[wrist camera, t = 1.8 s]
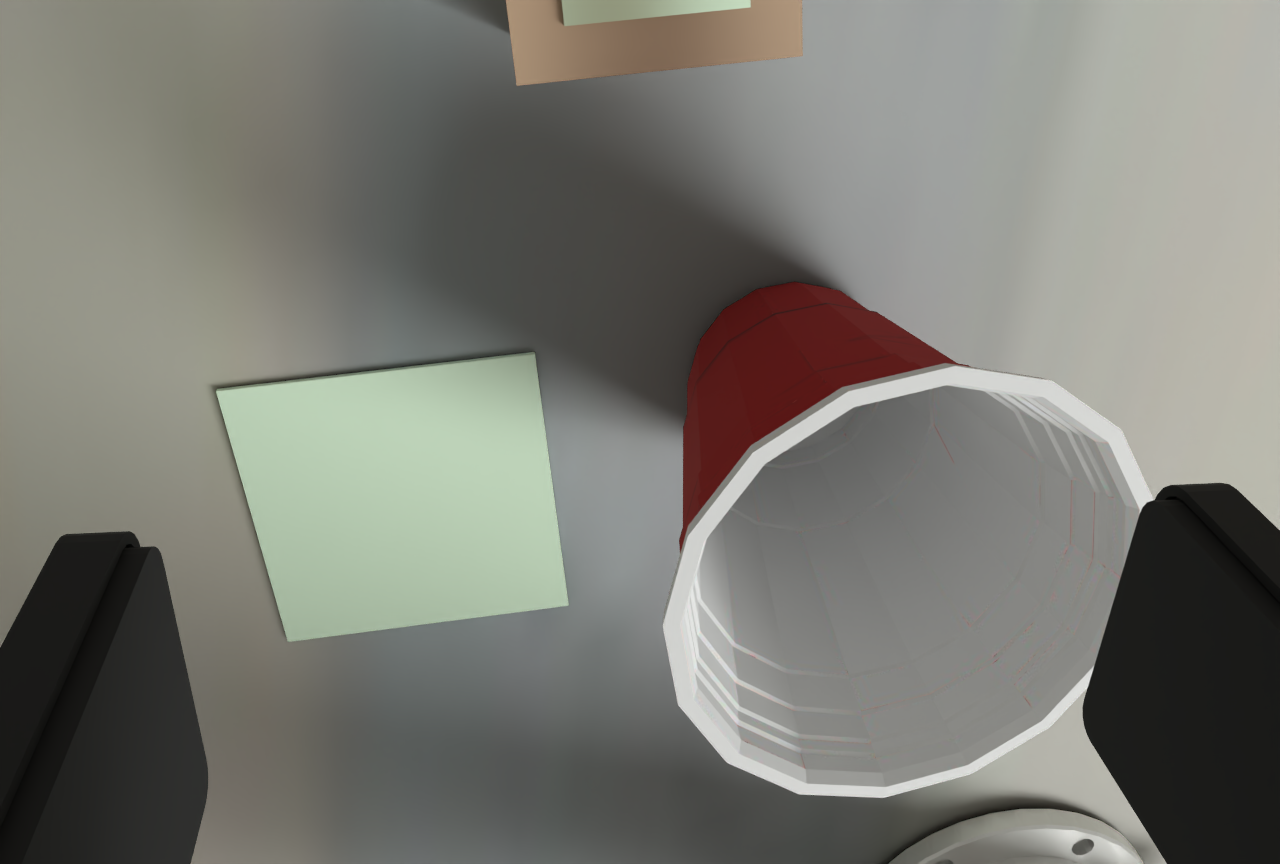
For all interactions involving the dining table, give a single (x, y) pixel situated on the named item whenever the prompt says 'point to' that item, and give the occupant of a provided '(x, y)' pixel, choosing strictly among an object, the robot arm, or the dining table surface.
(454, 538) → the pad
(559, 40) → the letter block
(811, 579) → the plastic cup
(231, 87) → the dining table surface
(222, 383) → the dining table surface
